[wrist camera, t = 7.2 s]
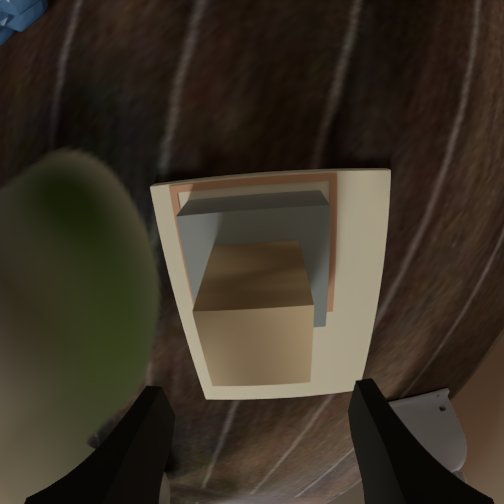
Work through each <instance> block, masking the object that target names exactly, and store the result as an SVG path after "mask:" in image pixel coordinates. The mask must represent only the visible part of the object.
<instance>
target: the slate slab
mask: <svg viewBox="0 0 504 504" xmlns="http://www.w3.org/2000/svg"><path fill="white" fill-rule="evenodd" d="M176 219H177V225H178V230H179V235H180V240H181V245H182V250H183V255H184V260H185V264H186V269H187V274H188V278H189V283H190V287H191V292H192V296H193V300H194V304H195V301H196V297H197V294H198V291H199V288H200V284H201V281H202V278H203V275H204V272H205V269H206V265H207V262H208V259H209V256H210V253H211V250H212V247H213V246H218V245H232V244H247V243H261V242H276V241H291V240H299V244H300V248H301V252H302V256H303V260H304V264H305V268H306V272H307V276H308V281H309V285H310V289H311V293H312V298H313V302H314V324H313V327H324V326H326V315H327V298H328V278H329V251H330V204H329V203H328V201H327V200H326V198H325V197H324V195H323V194H322V192H321V191H320V190H313V191H294V192H278V193H263V194H250V195H237V196H226V197H215V198H204V199H194V200H188V201H187V202H186V203H185V205H184V206H183V207H182V209H181V210H180V212H179V213H178V214H177V216H176Z"/></svg>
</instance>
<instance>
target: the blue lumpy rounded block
mask: <svg viewBox="0 0 504 504" xmlns="http://www.w3.org/2000/svg"><path fill="white" fill-rule="evenodd" d="M47 7H48V5H47V0H0V45H2V44H3V43H4V42H5V41H6V40H7V39H9V37H10V36H11V35H12V34H13V33H14V32H15V31H16V30H17V31H20V32H22V31H23V30H25V29H26V28H27V27H29V26H30V25H31V24H33V23H34V22H35V21H36V20H37V19H39V18H40V17H41V16H42V15H43V14H44V12H45V10H46V9H47Z"/></svg>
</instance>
